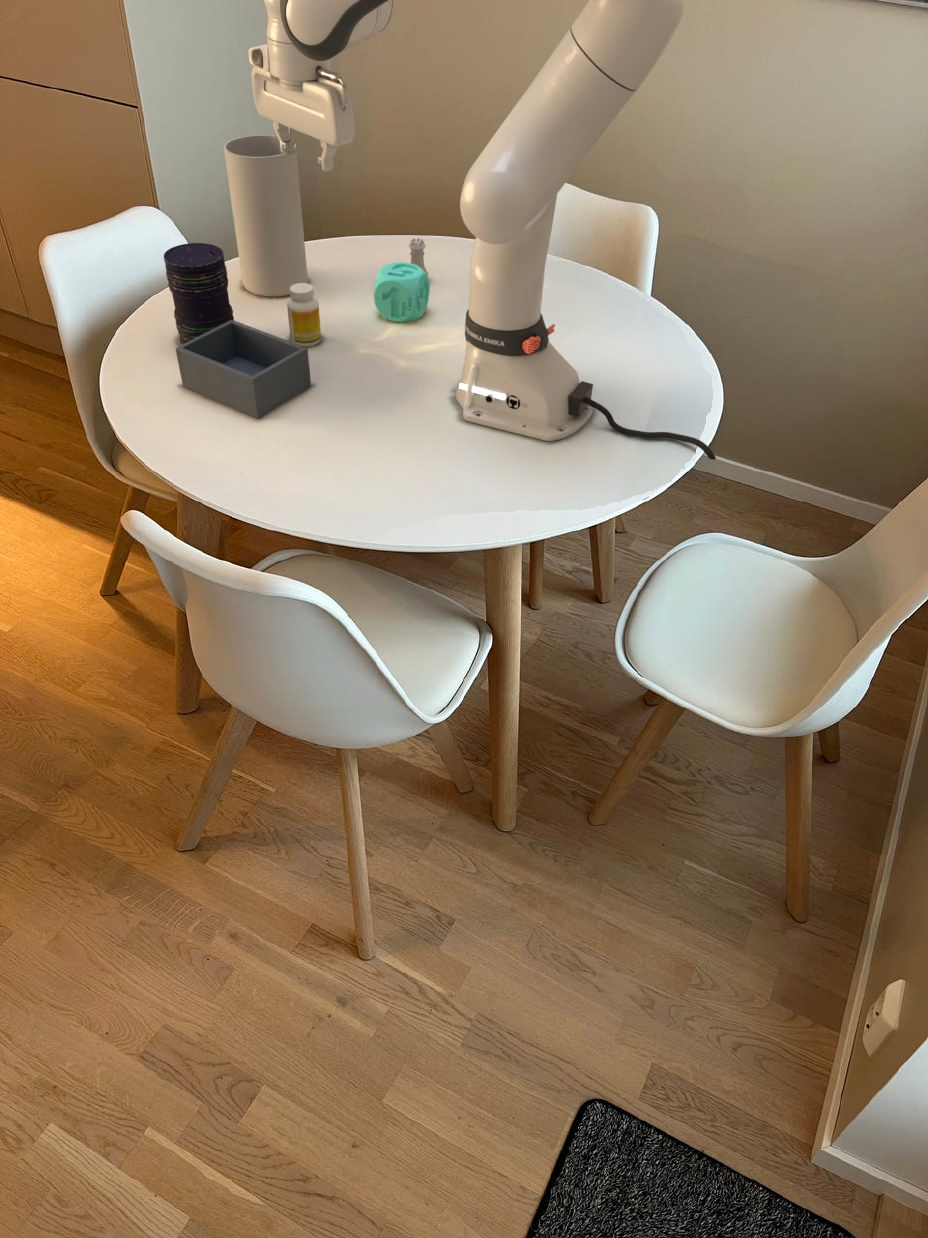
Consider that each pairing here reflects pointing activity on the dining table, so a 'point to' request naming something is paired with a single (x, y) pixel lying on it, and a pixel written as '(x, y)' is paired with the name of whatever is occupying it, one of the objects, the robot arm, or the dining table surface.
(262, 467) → the dining table surface
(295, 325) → the supplement bottle
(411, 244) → the rook chess piece
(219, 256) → the dark barrel
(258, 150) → the cylinder vase
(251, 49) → the robot arm
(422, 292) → the decorative dice
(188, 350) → the box shelf
